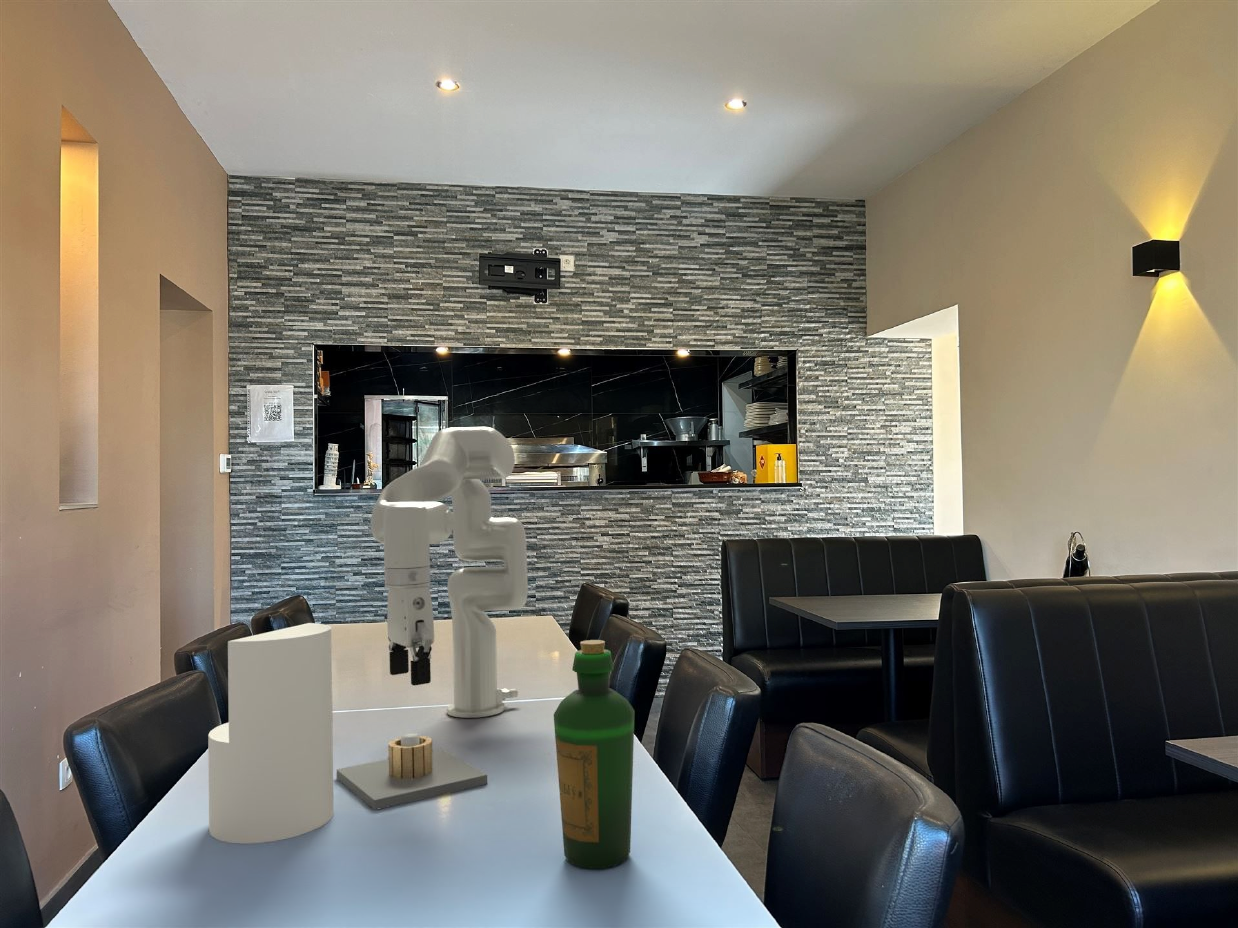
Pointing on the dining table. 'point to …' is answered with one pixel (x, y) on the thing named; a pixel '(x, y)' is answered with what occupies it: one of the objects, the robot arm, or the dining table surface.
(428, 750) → the wooden stave ring
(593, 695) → the bottle
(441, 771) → the stand
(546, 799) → the dining table surface
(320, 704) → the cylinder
